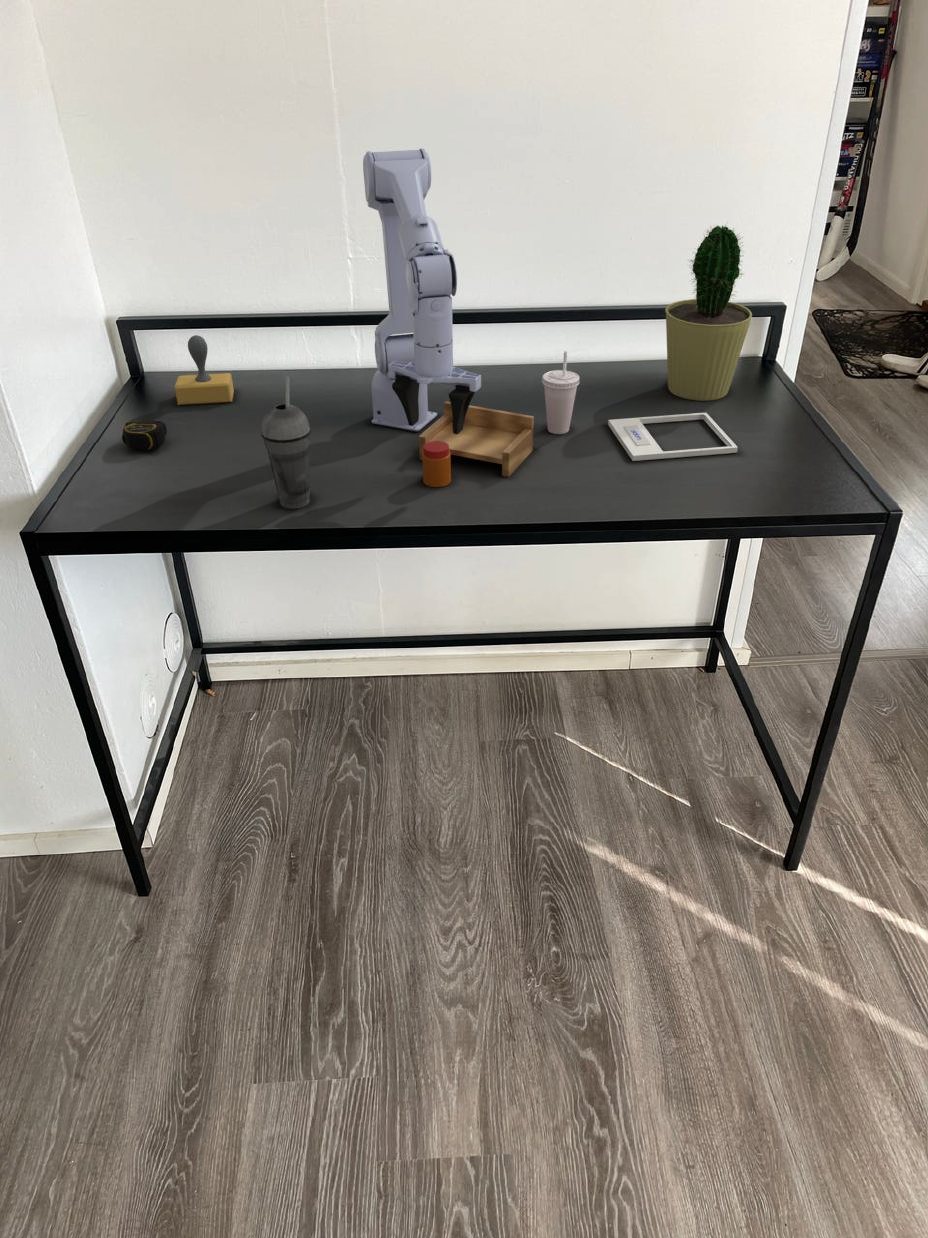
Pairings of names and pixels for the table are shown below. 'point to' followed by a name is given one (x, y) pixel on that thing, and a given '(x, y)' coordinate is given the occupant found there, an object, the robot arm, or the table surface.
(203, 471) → the table surface
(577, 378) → the smoothie
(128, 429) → the tape measure
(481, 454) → the shelf
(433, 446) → the spice bottle
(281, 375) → the table surface
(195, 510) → the table surface
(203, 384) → the rubber stamp
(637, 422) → the photo frame
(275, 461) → the beverage cup
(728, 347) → the potted cactus
